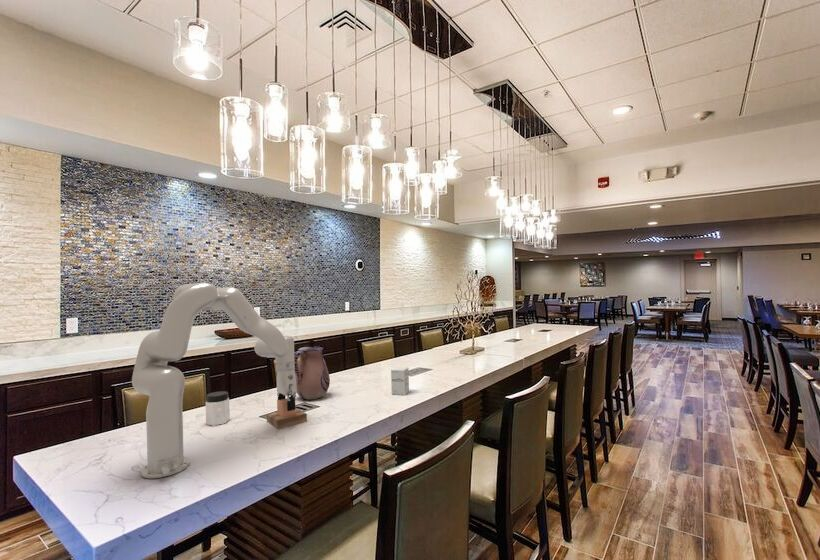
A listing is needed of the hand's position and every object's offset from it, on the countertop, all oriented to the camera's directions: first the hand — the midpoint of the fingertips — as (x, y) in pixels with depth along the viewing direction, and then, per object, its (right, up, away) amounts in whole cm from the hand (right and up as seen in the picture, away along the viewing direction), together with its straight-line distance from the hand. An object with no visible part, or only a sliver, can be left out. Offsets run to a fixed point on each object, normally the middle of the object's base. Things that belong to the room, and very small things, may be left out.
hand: (286, 407), depth 160 cm
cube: (0, -3, 0) cm, 3 cm away
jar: (-29, -7, +2) cm, 30 cm away
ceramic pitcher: (+1, -7, +34) cm, 34 cm away
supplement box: (+46, -5, +37) cm, 59 cm away
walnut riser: (0, -6, 0) cm, 6 cm away
